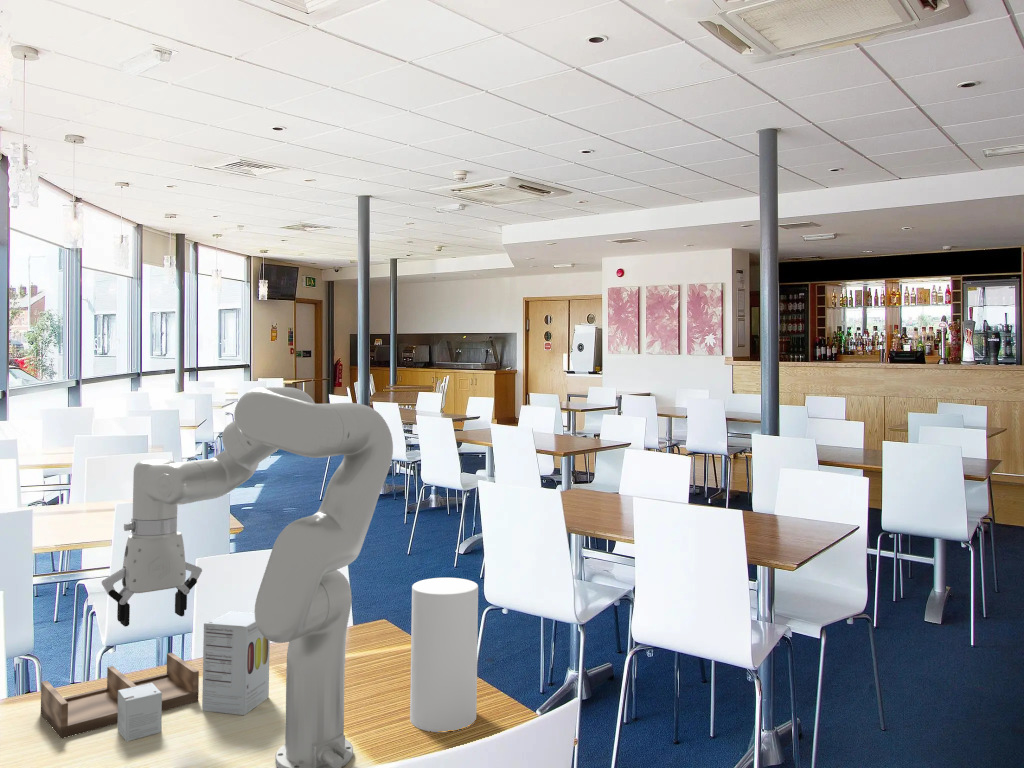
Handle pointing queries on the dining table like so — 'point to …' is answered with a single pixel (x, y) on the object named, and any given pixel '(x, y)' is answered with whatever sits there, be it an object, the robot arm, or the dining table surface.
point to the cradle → (116, 698)
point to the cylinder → (444, 654)
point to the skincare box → (139, 711)
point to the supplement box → (234, 664)
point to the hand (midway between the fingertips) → (152, 619)
